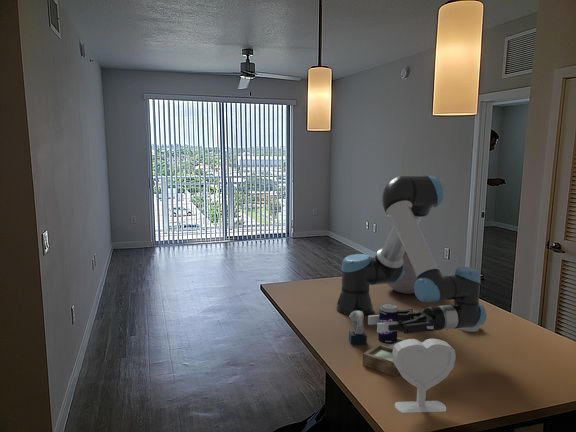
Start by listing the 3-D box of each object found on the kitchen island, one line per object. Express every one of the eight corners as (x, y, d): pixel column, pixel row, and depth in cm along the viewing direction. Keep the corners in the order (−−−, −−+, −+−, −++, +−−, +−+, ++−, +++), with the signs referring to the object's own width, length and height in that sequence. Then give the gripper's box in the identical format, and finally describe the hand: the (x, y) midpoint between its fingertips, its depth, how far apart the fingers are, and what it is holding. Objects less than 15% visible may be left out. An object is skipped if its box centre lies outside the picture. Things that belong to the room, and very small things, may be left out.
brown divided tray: (362, 364, 138) (362, 353, 138) (390, 345, 153) (391, 335, 152) (394, 376, 131) (395, 364, 131) (421, 355, 146) (421, 344, 145)
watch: (362, 336, 160) (364, 307, 158) (367, 346, 152) (368, 315, 150) (347, 336, 159) (348, 307, 158) (351, 346, 152) (352, 315, 150)
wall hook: (451, 298, 174) (478, 300, 172) (449, 321, 176) (476, 324, 174) (455, 306, 166) (483, 308, 164) (453, 330, 167) (481, 332, 165)
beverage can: (376, 339, 140) (377, 303, 138) (393, 338, 140) (395, 302, 139) (381, 346, 134) (382, 309, 133) (399, 346, 135) (401, 308, 133)
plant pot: (379, 283, 227) (382, 226, 223) (427, 286, 224) (430, 227, 220) (382, 298, 204) (385, 234, 199) (436, 301, 200) (440, 236, 196)
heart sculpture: (394, 413, 113) (398, 346, 110) (388, 402, 117) (391, 338, 115) (453, 411, 114) (458, 345, 111) (445, 400, 119) (449, 337, 116)
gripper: (456, 340, 133) (386, 348, 127) (422, 318, 151) (360, 324, 145) (458, 316, 132) (387, 323, 126) (424, 297, 150) (360, 302, 144)
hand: (373, 323), depth 135 cm, fingers closed on beverage can, 6 cm apart
